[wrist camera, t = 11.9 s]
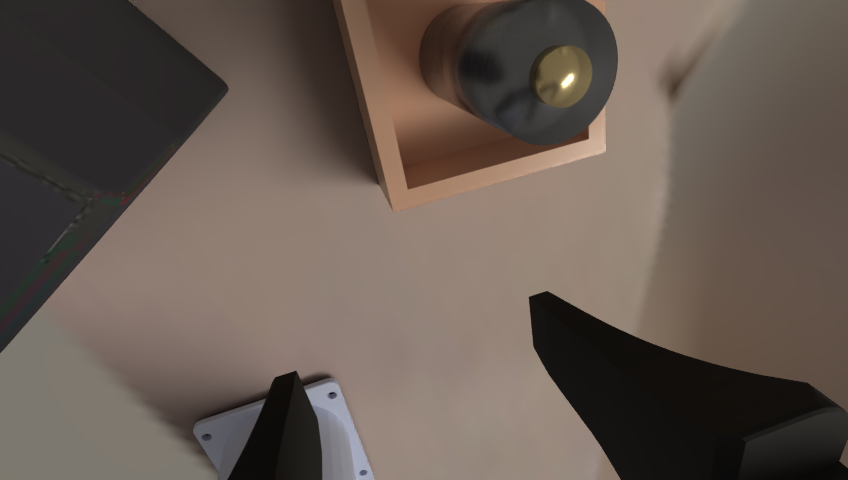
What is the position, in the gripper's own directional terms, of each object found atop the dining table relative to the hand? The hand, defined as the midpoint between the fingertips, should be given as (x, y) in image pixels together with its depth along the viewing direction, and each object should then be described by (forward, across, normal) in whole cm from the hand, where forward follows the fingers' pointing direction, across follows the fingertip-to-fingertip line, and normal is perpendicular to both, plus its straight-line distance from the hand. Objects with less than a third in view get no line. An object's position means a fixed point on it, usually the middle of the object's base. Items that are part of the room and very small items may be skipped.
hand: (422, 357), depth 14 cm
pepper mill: (+10, -6, -6) cm, 13 cm away
